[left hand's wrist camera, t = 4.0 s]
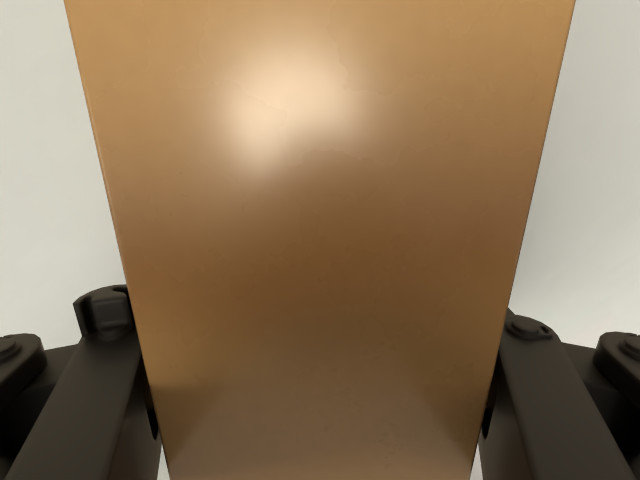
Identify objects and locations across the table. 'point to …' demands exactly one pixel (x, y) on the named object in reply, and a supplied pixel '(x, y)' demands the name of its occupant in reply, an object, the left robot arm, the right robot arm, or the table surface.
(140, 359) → the left robot arm
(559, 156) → the table surface
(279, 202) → the bar
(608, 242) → the table surface
